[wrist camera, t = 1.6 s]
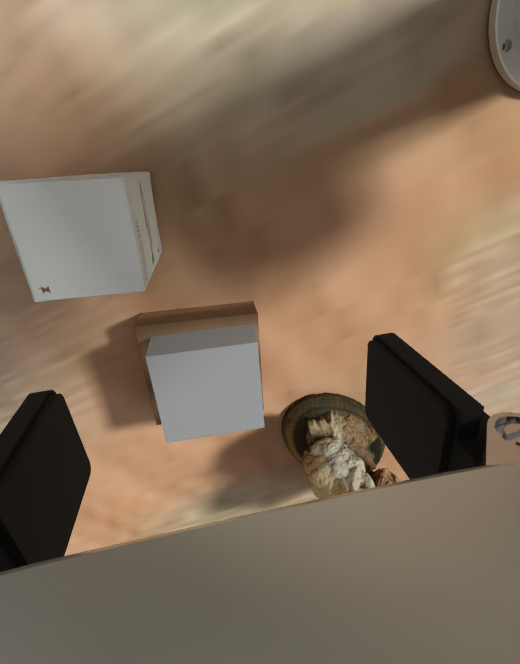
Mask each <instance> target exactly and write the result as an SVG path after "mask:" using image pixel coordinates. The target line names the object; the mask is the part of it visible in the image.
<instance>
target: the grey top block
mask: <svg viewBox="0 0 520 664" xmlns="http://www.w3.org/2000/svg"><path fill="white" fill-rule="evenodd" d="M146 361H147V365H148V370H149V374H150V378H151V382H152V386H153V390H154V394H155V398H156V402H157V406H158V411H159V415H160V419H161V423H162V427H163V431H164V435H165V439H166V443H169V442H176V441H182V440H188V439H195V438H201V437H207V436H214V435H220V434H226V433H233V432H239V431H246V430H252V429H258V428H265V427H264V414H263V402H262V389H261V377H260V365H259V352H258V342H257V338H256V335H255V332H254V329H253V326H252V324H249V325H241V326H233V327H225V328H217V329H209V330H201V331H193V332H185V333H177V334H170V335H162V336H154V337H151V339H150V342H149V346H148V349H147V353H146Z"/></svg>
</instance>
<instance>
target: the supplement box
mask: <svg viewBox="0 0 520 664" xmlns="http://www.w3.org/2000/svg"><path fill="white" fill-rule="evenodd" d="M0 205H1V208H2V210H3V213H4V216H5V219H6V222H7V225H8V228H9V231H10V233H11V236H12V239H13V242H14V246H15V249H16V252H17V255H18V257H19V259H20V262H21V265H22V268H23V271H24V274H25V277H26V279H27V282H28V285H29V288H30V291H31V294H32V298H33V300H34V302H44V301H53V300H63V299H72V298H81V297H90V296H102V295H112V294H123V293H133V292H142V291H145V290H146V287H147V285H148V283H149V280H150V278H151V276H152V274H153V271H154V269H155V267H156V265H157V262H158V260H159V258H160V255H161V253H162V251H163V249H162V245H161V240H160V236H159V230H158V225H157V219H156V213H155V207H154V200H153V194H152V187H151V179H150V172H148V171H143V172H122V173H103V174H87V175H73V176H59V177H47V178H36V179H23V180H2V181H0Z"/></svg>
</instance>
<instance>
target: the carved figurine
mask: <svg viewBox="0 0 520 664" xmlns="http://www.w3.org/2000/svg"><path fill="white" fill-rule="evenodd" d="M282 435H283V438H284V441H285V443H286V446H287V448H288V449H289V451H290V452H291V454H292V455H293V456H294V457H295V459H296V460H298V461H299V462H300V463H301V464H303V469H304V471H305V472H306V476H307V477H308V479H309V481H310V487H311V489H312V491H313V492H314V494H315V496H316V497H318V498H320V499H321V498H326V497H331V496H335V495H340V494H344V493H349V492H354V491H358V490H363V489H368V488H372V487H377V486H382V485H386V484H391V483H395V482H400V480H399V479H398V478H397V477H396V475H394V474H393V473H391V472H389V470H388V468H382V469H378V470H376V471H375V472H373V471H372V470H374V469H375V468H376V465H377V464H378V463H379V461H380V459H381V457H382V454H383V451H384V448H385V443H384V442H383V440H382V439H381V437H380V436H379V435H378V433H377V432H376V430H375V429H374V427H373V426H372V425H371V423H370V422H369V420H368V418H367V416H366V412H365V406H364V405H362V404H361V403H360V402H357V401H355V400H354V399H351V398H349V397H346V396H343V395H339V394H332V393H324V394H320V395H316V394H314V395H313V394H312V395H309V396H306V397H304V398H302V399H301V400H299V401H298V402H296V403H294V404H293V406H291V407H290V408H289V409H288V411H287V412H286V414H285V416H284V418H283V421H282Z"/></svg>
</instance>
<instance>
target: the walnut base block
mask: <svg viewBox="0 0 520 664" xmlns="http://www.w3.org/2000/svg"><path fill="white" fill-rule="evenodd" d="M249 324H252V326H253V329H254V332H255V335H256V338H257V342H258V352H259V365H260V377H261V389H262V375H261V360H260V344H259V329H258V313H257V311H256V308H255V305H254V303H253V301H251V302H242V303H233V304H223V305H214V306H205V307H195V308H186V309H177V310H167V311H158V312H149V313H139V316H138V318H137V321H136V323H135V326H134V329H135V334H136V338H137V342H138V346H139V351H140V355H141V359H142V364H143V368H144V372H145V376H146V381H147V385H148V389H149V393H150V398H151V402H152V406H153V410H154V415H155V419H156V423H157V425H159V424H162V423H161V419H160V415H159V411H158V406H157V402H156V398H155V394H154V390H153V386H152V382H151V378H150V374H149V370H148V365H147V361H146V353H147V349H148V346H149V342H150V339H151V337H154V336H162V335H170V334H177V333H185V332H193V331H201V330H209V329H217V328H225V327H233V326H241V325H249ZM262 402H263V391H262ZM263 410H264V407H263Z"/></svg>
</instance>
